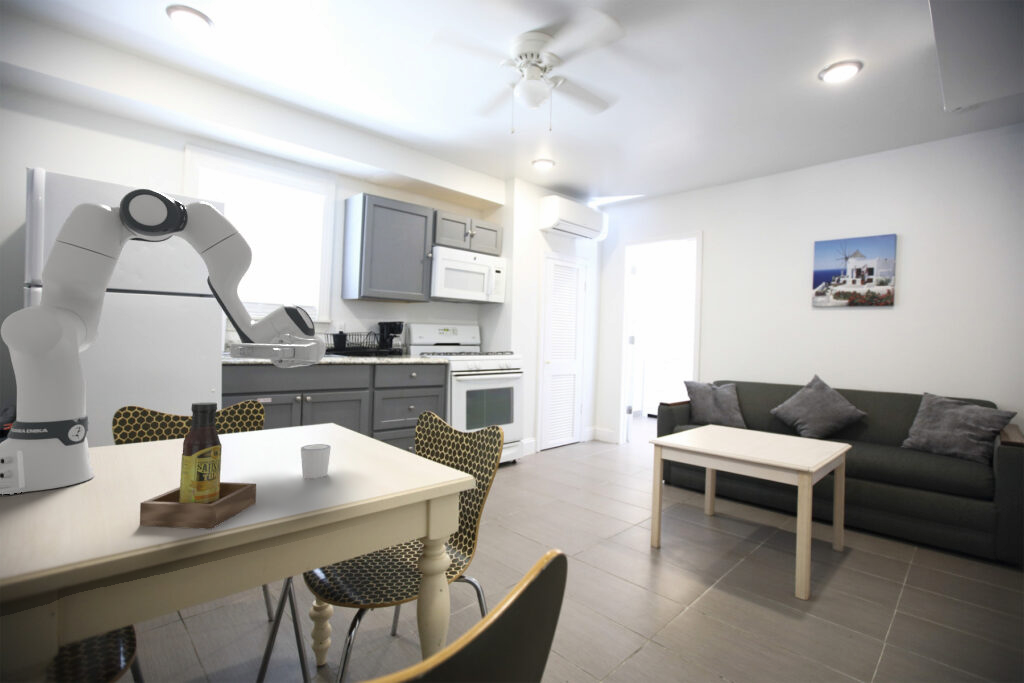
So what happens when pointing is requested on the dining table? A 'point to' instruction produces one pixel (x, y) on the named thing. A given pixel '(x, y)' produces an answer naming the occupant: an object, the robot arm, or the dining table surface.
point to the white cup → (315, 460)
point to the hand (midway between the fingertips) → (256, 352)
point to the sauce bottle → (201, 457)
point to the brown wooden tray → (197, 508)
